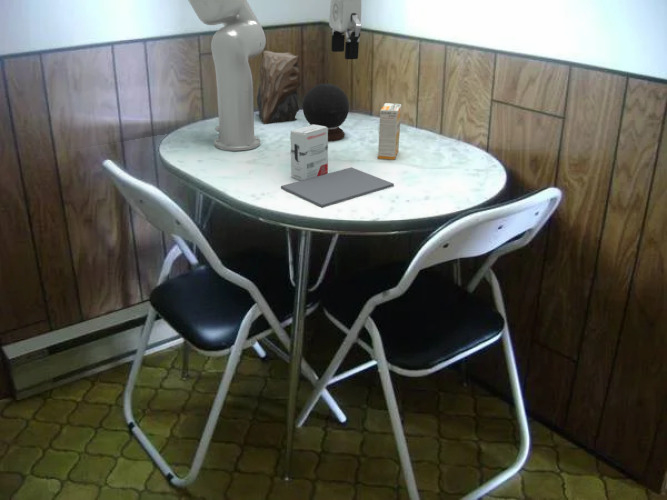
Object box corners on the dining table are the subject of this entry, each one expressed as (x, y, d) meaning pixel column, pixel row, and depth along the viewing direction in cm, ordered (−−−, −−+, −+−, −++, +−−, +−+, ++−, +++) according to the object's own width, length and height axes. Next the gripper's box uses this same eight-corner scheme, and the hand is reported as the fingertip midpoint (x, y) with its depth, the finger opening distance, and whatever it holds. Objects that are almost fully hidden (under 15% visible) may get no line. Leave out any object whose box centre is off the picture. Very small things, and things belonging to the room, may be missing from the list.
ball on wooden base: (357, 138, 200) (359, 85, 193) (318, 145, 193) (319, 91, 186) (331, 127, 209) (332, 77, 203) (294, 133, 203) (293, 82, 196)
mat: (280, 188, 161) (280, 185, 161) (351, 169, 174) (351, 167, 174) (321, 207, 151) (321, 204, 151) (393, 186, 164) (393, 183, 164)
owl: (256, 114, 222) (254, 49, 214) (295, 112, 225) (294, 49, 216) (262, 124, 211) (260, 57, 202) (303, 122, 214) (302, 56, 205)
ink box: (313, 169, 174) (314, 122, 169) (328, 173, 172) (329, 126, 166) (290, 177, 169) (289, 129, 163) (305, 182, 166) (305, 133, 161)
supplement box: (395, 160, 182) (398, 111, 176) (377, 158, 183) (379, 109, 177) (399, 151, 189) (402, 103, 184) (381, 149, 190) (384, 102, 184)
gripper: (321, -23, 169) (318, 49, 177) (345, -16, 155) (341, 62, 162) (350, -23, 171) (346, 48, 179) (376, -16, 157) (371, 61, 164)
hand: (344, 55), depth 171 cm, fingers open, 9 cm apart
